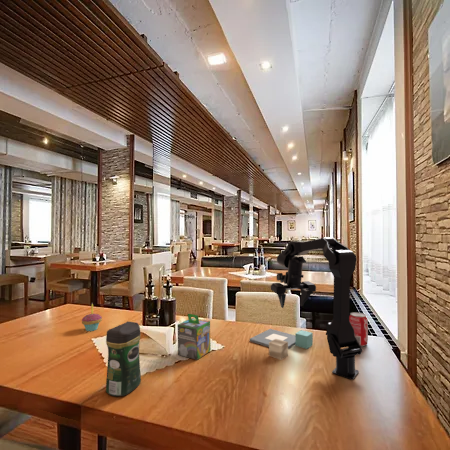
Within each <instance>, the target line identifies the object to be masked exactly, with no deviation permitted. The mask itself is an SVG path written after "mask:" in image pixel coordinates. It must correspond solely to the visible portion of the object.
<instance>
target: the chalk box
mask: <svg viewBox="0 0 450 450" xmlns="http://www.w3.org/2000/svg"><path fill="white" fill-rule="evenodd" d="M211 343H212V342H211V321H210V320H207V319H200V318H199V315H197V314H194V313H187V319H186V320H184V321H181V322H180V323H177V355H178V356H182V357H186V358H189V359H192V360H196V361H197V360H200V359H201V358H202V357H203V356H205V355H206V354H208V353H209V352H210V351H211Z"/></svg>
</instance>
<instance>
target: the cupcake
mask: <svg viewBox="0 0 450 450" xmlns="http://www.w3.org/2000/svg"><path fill="white" fill-rule="evenodd" d="M102 321H103V317H102V316H101V315H100V314H98V313H94V304H93V302H91V312H90V313H89V314H86V315H85V316H84V317H82V319H81V324H82V325H83V326H84V328H85V331H86V332H94V331H96V330H98V327H99V324H100V323H101V322H102Z"/></svg>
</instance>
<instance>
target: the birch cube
mask: <svg viewBox="0 0 450 450" xmlns="http://www.w3.org/2000/svg"><path fill="white" fill-rule="evenodd" d="M288 355H289V349H288V342H286V341H283V340H279V339H274V340H273V341H271V342H269V347H268V356H269V357H271V358H274V359H276V360H279V361H281V360H284V359H286V357H288Z"/></svg>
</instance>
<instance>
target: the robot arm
mask: <svg viewBox="0 0 450 450" xmlns="http://www.w3.org/2000/svg"><path fill="white" fill-rule="evenodd" d="M287 243H288V244H287V245H286V247H285V249H284V250H283V249H282V250H281V252H280V253H279V254H278V255H277V257H276V262H277V264H278V265H281V266H283V267H285V268H286V269H287V271H286V272H285V274H283V273H282V272H277V273H276V280H277V281H279V282H274V283H271V285H270V290H271V291H272V292H274V293H275V294H276V295H277V297H278V300H279V304H280V307H281V308H282V309H284V307H285V303H286V296H287V294H286V292H287V291H289V290H290V291H292V290H300V302H299V305H300V307H304V304H305V303H306V301H307V300H308V299H309V297H310V296H311V295H312V294H314V292H316V291H317V286H316V283H315V284H314V283H313V282H311V281H302V278H304V274H303V265H304V264H306V263H307V261H306V259H305V258H304V256H305V255H307V254H309V253H311V252H312V251H319V250H320V251H321V250H322V254H323V257H324V258H325V260H327V261H328V267H329V270H330V272H331V274H332V276H333V299H332V301H333V305H332V306H333V308H332V309H333V310H332V314H333V315H332V320H331V322H326V325H325V327H326V332H325V335H326V340H327V345H328V349H329V353H330V354H332V356H333V357H335V368H334V369H333V370H332V371H331V373H332V374H333V375H337V376H340V377H342V378H346V379H349V380H354V379H355V378H356V376H357V375H358V374H359V372H360V371H359V370H357V369H356V356H360V355H362V352H363V348H362V346H360V345H359V343H358V341H357V340H356V338H355V334H354V328H353V327H352V325H351V323H350V321H349V317H350V305H351V304H350V299H351V298H350V297H351V295H350V293H351V290H350V289H351V277H352V276H353V274H354V272H355V270H356V265H357V256H356V254H355V253H354V251H352V250H351V249H349V248H348V247H347V246H345V245H344V244H343V243H340V242H339V241H338V240H337V239H335V238H334V237H332V236H330V237H329V236H324V237H321V238H316V239H312V240H308V241H307V240H306V241H300V240H297V241H289V242H287ZM282 283H283V284H282Z"/></svg>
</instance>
